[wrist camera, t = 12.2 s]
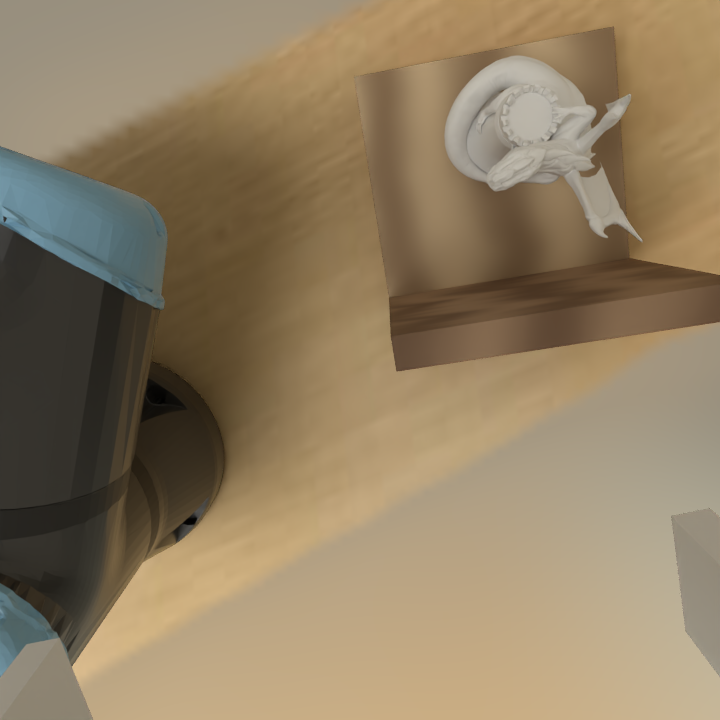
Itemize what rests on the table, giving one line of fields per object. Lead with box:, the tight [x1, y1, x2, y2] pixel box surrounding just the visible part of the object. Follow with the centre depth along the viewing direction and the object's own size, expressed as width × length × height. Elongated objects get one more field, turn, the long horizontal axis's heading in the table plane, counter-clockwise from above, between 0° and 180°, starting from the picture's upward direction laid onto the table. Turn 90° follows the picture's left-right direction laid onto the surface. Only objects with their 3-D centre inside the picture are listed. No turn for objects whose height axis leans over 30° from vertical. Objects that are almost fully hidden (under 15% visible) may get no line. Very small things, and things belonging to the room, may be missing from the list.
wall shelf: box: [354, 27, 720, 371], centre depth 32 cm, size 15×15×16 cm
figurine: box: [444, 55, 643, 242], centre depth 30 cm, size 11×8×12 cm
